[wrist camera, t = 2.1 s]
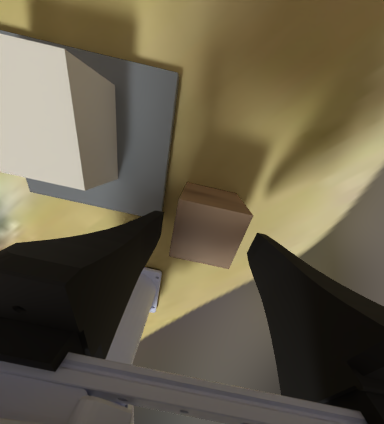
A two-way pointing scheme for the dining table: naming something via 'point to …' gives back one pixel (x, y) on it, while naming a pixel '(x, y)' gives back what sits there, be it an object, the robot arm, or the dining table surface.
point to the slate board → (128, 135)
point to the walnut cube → (209, 225)
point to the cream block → (55, 116)
